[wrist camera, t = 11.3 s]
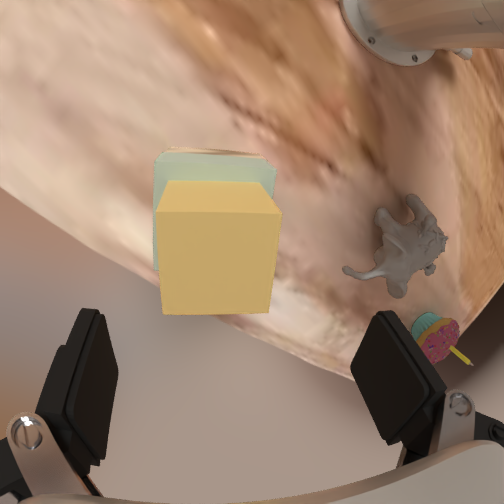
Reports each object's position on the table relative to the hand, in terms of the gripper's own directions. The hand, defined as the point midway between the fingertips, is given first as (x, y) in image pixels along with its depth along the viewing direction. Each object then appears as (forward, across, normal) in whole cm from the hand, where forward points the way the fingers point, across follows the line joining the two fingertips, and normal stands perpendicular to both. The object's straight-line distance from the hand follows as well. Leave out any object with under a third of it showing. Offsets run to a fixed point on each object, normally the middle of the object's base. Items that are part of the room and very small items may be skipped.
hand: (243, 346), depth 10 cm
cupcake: (+20, -33, +19) cm, 43 cm away
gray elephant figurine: (+20, -19, +4) cm, 28 cm away
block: (+12, +1, +1) cm, 12 cm away
